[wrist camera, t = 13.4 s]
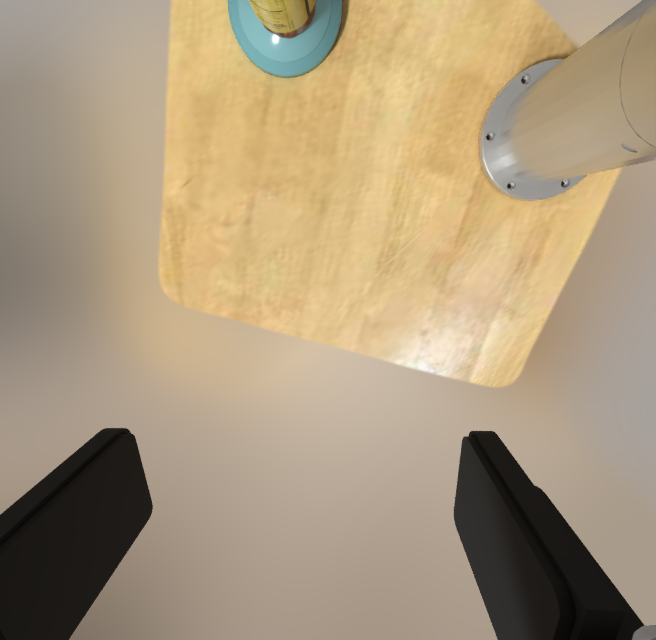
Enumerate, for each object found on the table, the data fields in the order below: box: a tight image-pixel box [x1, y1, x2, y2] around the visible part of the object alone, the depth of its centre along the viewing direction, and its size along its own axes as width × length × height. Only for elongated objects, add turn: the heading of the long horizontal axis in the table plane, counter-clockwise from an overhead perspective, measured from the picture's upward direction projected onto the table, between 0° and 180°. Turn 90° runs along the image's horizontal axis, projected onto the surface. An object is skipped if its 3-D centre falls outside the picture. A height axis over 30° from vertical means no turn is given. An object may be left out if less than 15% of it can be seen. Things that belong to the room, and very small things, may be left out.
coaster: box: [228, 0, 342, 78], centre depth 29 cm, size 11×11×1 cm
